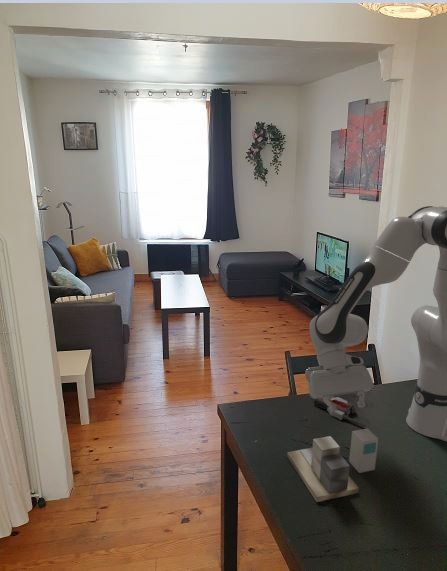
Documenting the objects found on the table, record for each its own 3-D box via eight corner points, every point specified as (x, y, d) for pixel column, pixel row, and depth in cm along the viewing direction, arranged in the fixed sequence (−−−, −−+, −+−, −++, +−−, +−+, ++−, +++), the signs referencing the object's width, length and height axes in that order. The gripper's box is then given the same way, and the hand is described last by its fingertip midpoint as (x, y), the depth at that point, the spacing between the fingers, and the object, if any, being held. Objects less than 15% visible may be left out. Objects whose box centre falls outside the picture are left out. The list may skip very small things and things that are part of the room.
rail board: (323, 449, 126) (326, 417, 123) (358, 492, 109) (362, 456, 106) (286, 456, 122) (288, 424, 120) (316, 502, 106) (319, 465, 103)
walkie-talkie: (309, 407, 149) (363, 431, 136) (310, 396, 147) (365, 419, 135) (322, 398, 155) (375, 419, 142) (323, 387, 154) (376, 408, 141)
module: (364, 458, 122) (367, 428, 120) (375, 470, 117) (378, 439, 115) (349, 461, 121) (352, 431, 118) (359, 473, 116) (363, 442, 113)
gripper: (307, 364, 125) (320, 411, 119) (367, 357, 131) (383, 401, 124) (299, 371, 130) (312, 416, 124) (357, 364, 136) (372, 407, 129)
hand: (348, 409), depth 124 cm, fingers open, 8 cm apart
